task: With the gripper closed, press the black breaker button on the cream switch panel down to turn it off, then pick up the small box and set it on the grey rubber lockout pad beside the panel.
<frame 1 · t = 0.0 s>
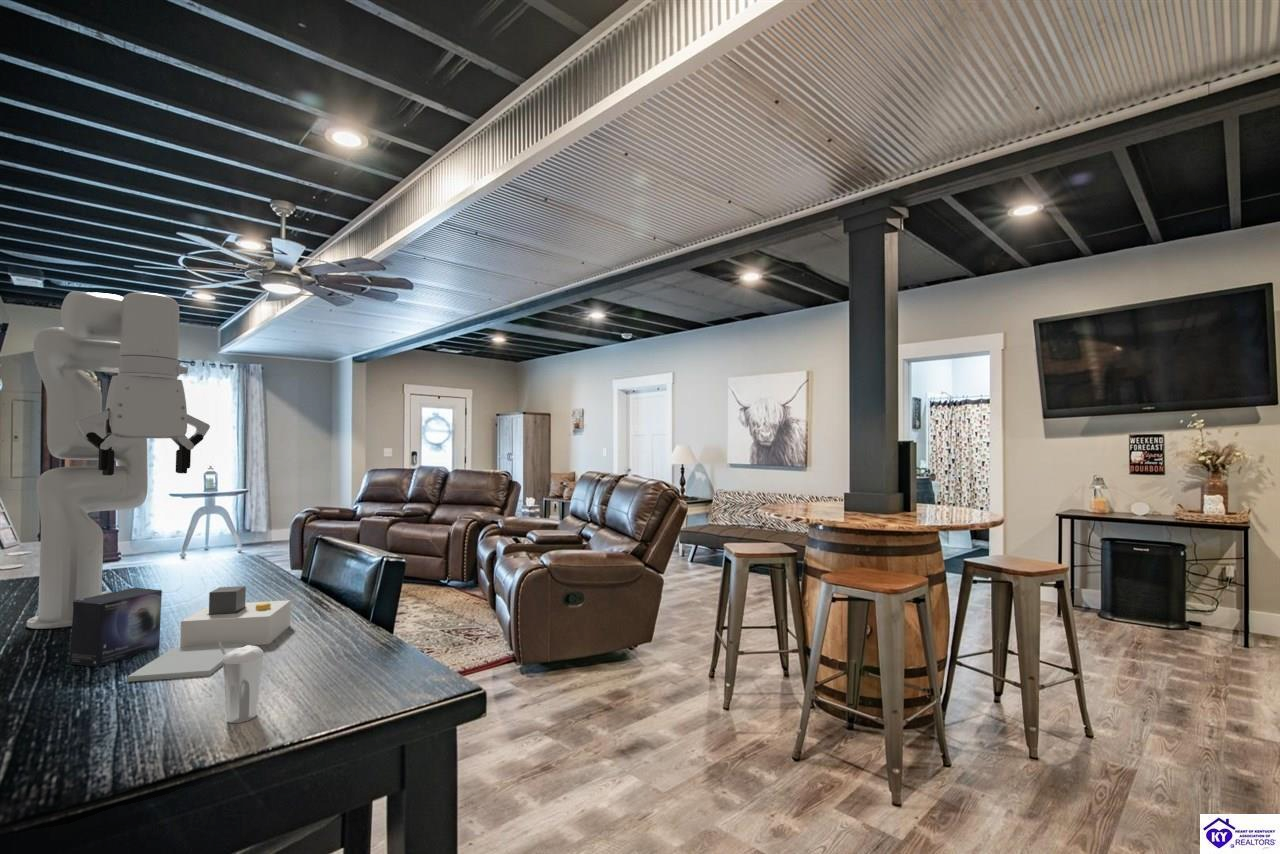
hand: (146, 474, 100), 31 cm above the table, tool pointing down, fingers open, 9 cm apart
switch panel: (238, 637, 115), on the table
breaker button: (227, 605, 115), point 6 cm above the table, slide at 0.0 cm
milkshake: (238, 719, 80), on the table
lockout pad: (190, 663, 101), on the table
small box: (116, 657, 105), on the table
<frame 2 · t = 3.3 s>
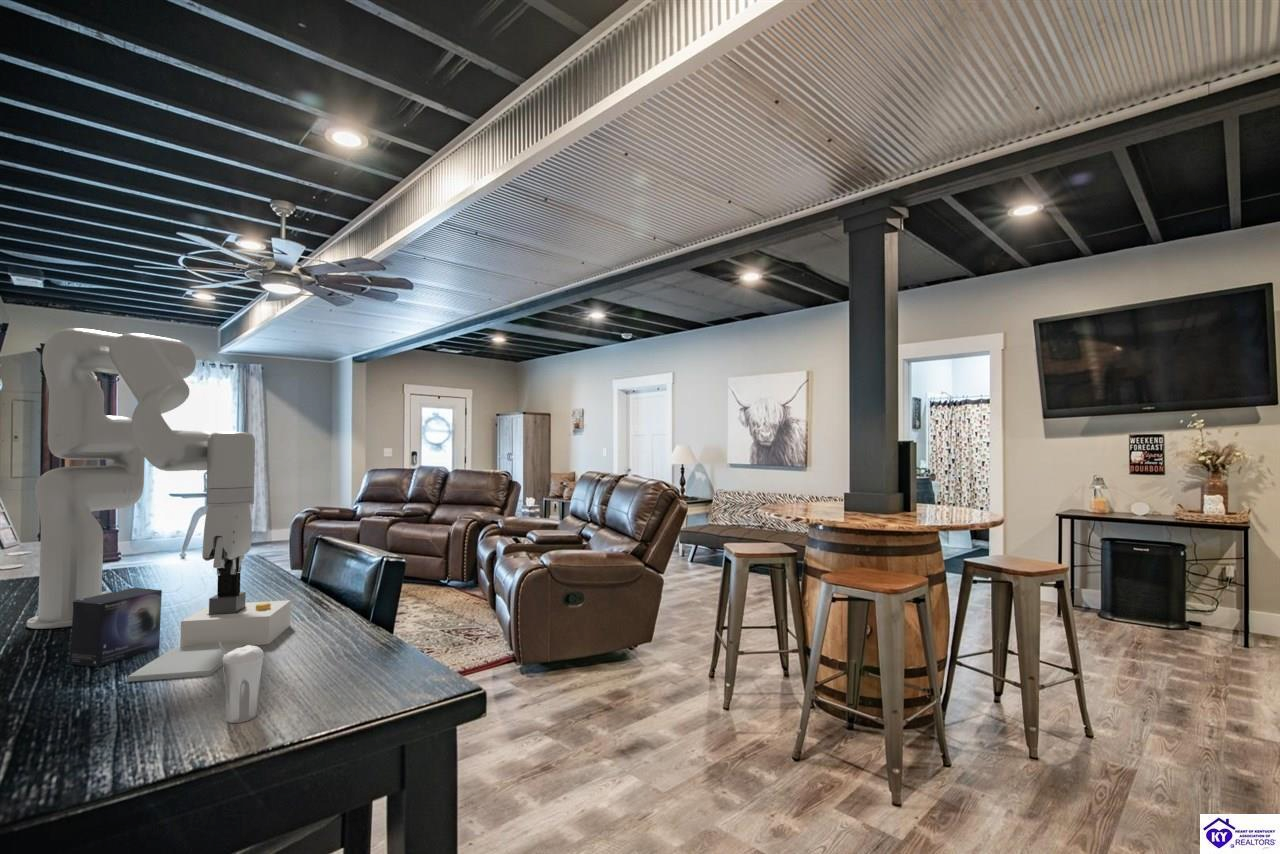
hand: (228, 595, 115), 8 cm above the table, tool pointing down, fingers closed
breaker button: (227, 611, 115), point 5 cm above the table, slide at 1.1 cm, touching gripper
everything else where it was.
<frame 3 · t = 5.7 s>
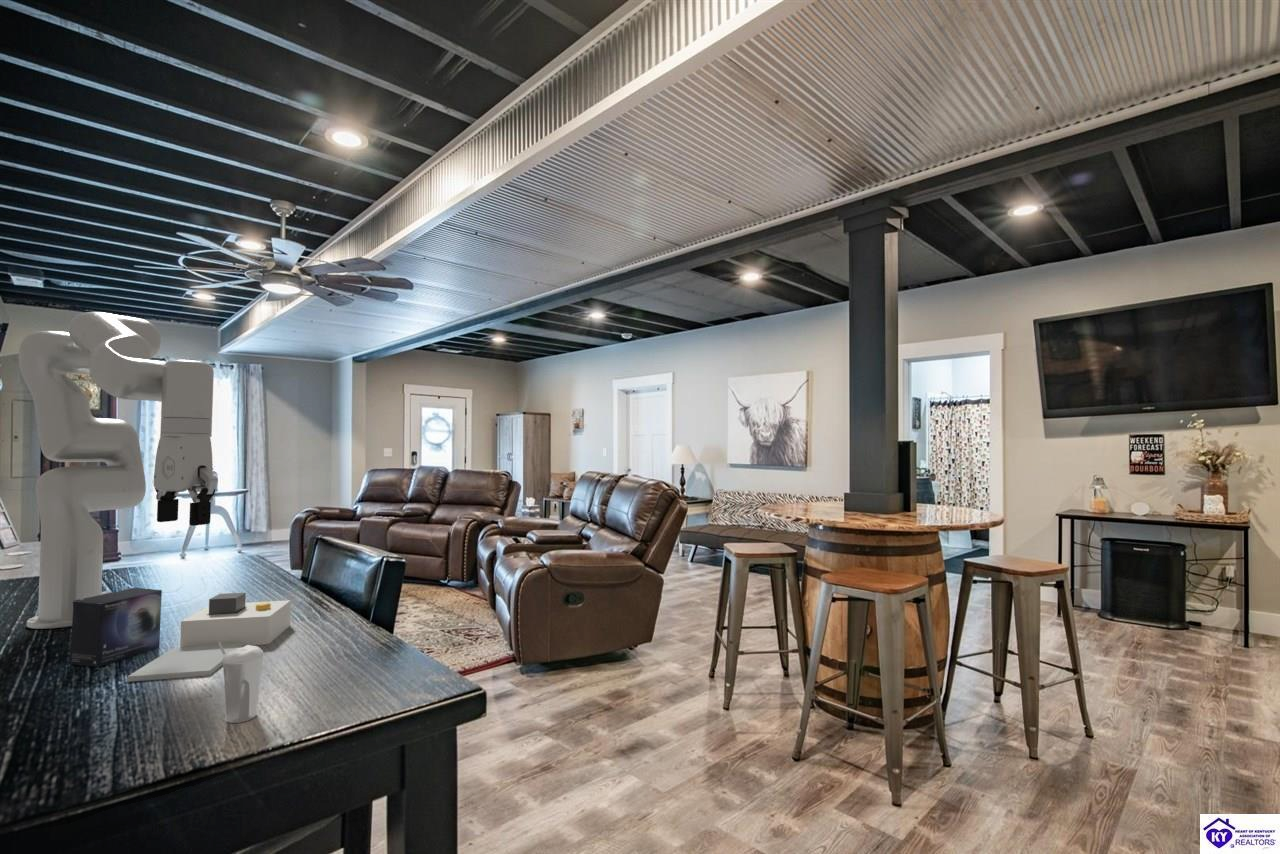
hand: (183, 523, 111), 22 cm above the table, tool pointing down, fingers open, 9 cm apart
breaker button: (227, 612, 115), point 5 cm above the table, slide at 1.2 cm
everything else where it was.
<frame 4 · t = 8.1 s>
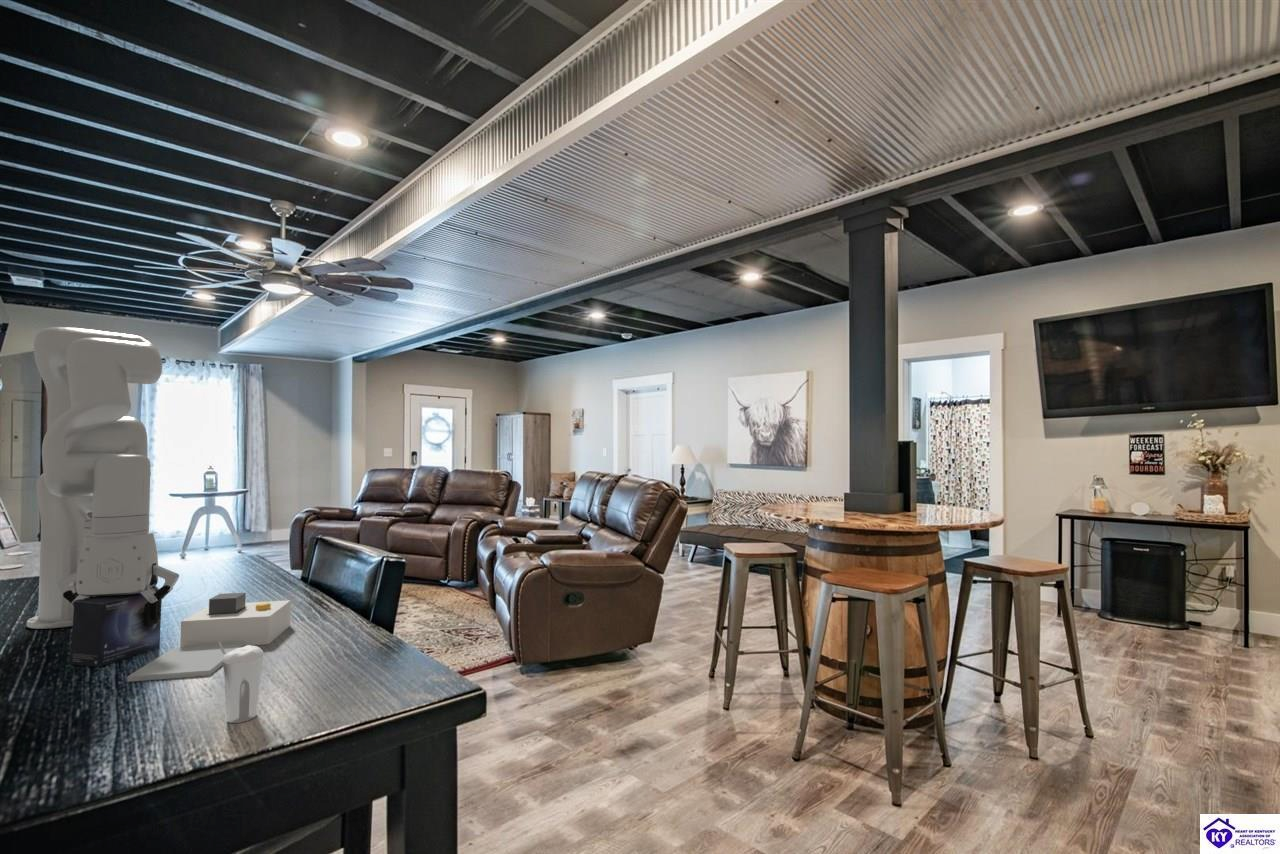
hand: (118, 627, 104), 5 cm above the table, tool pointing down, fingers open, 9 cm apart
nothing on the table moved.
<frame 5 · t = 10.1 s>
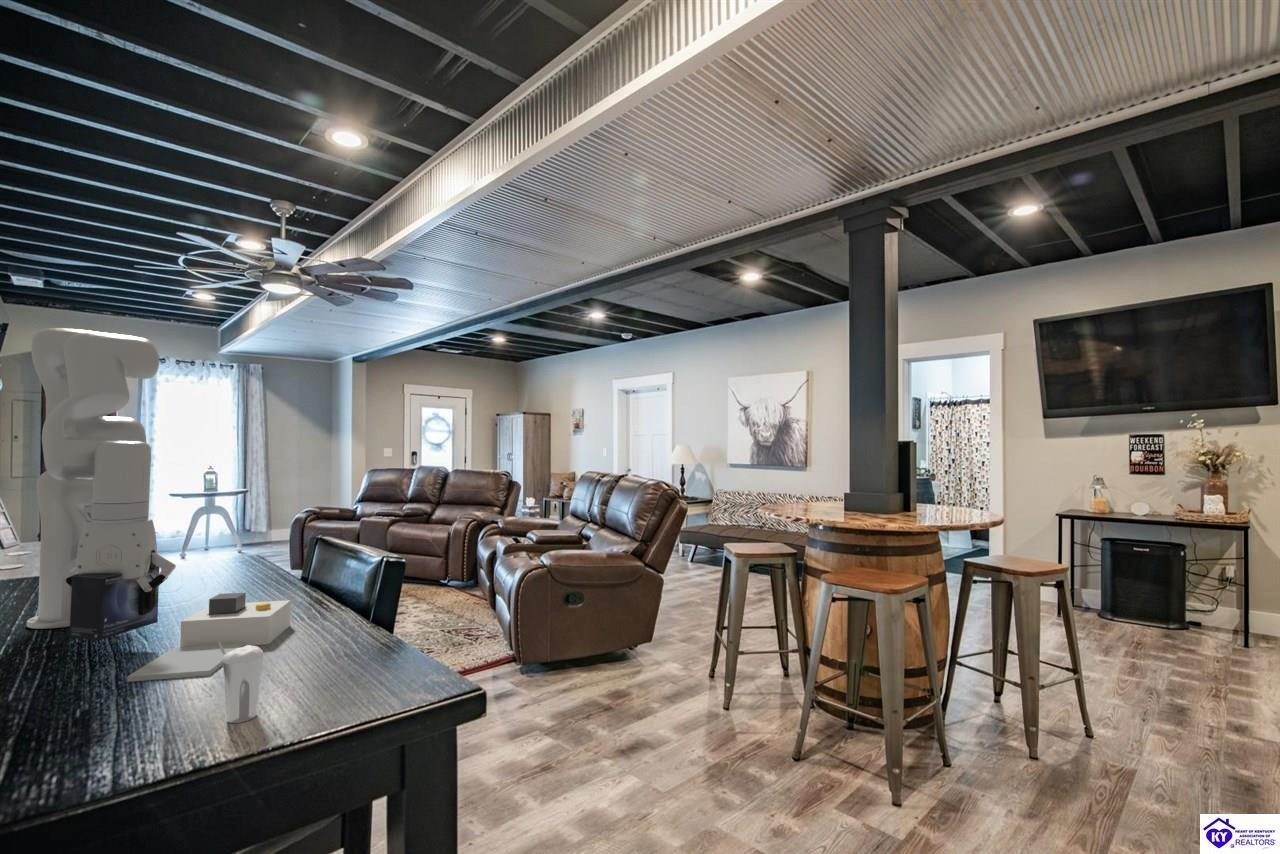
hand: (116, 613, 105), 7 cm above the table, tool pointing down, fingers closed on small box, 8 cm apart
small box: (115, 631, 105), point 4 cm above the table, touching gripper
everything else where it was.
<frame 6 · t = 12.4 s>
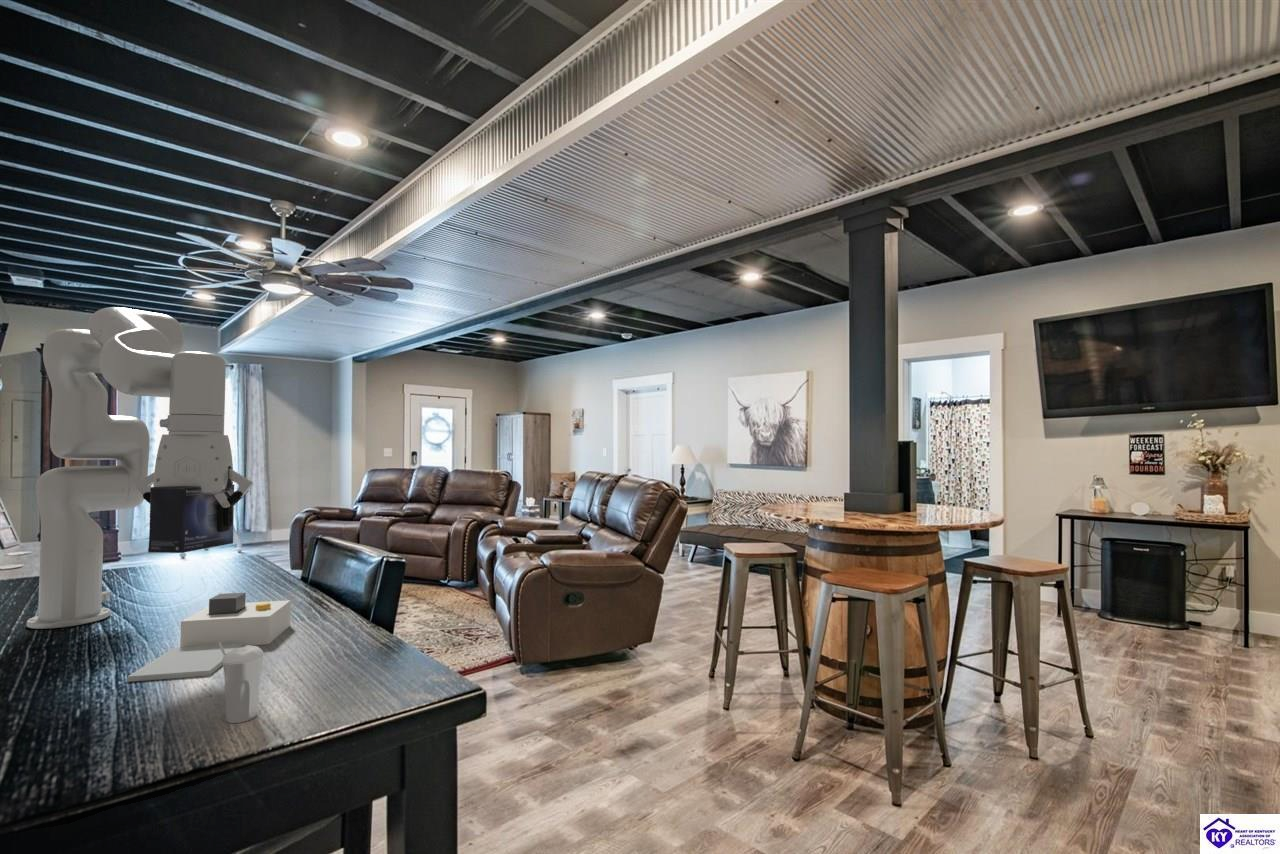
hand: (194, 531, 102), 22 cm above the table, tool pointing down, fingers closed on small box, 8 cm apart
small box: (193, 549, 102), point 19 cm above the table, touching gripper
everything else where it was.
when the fingers open (5 cm above the table, at t = 16.1 s): small box drops 1 cm, resting on lockout pad.
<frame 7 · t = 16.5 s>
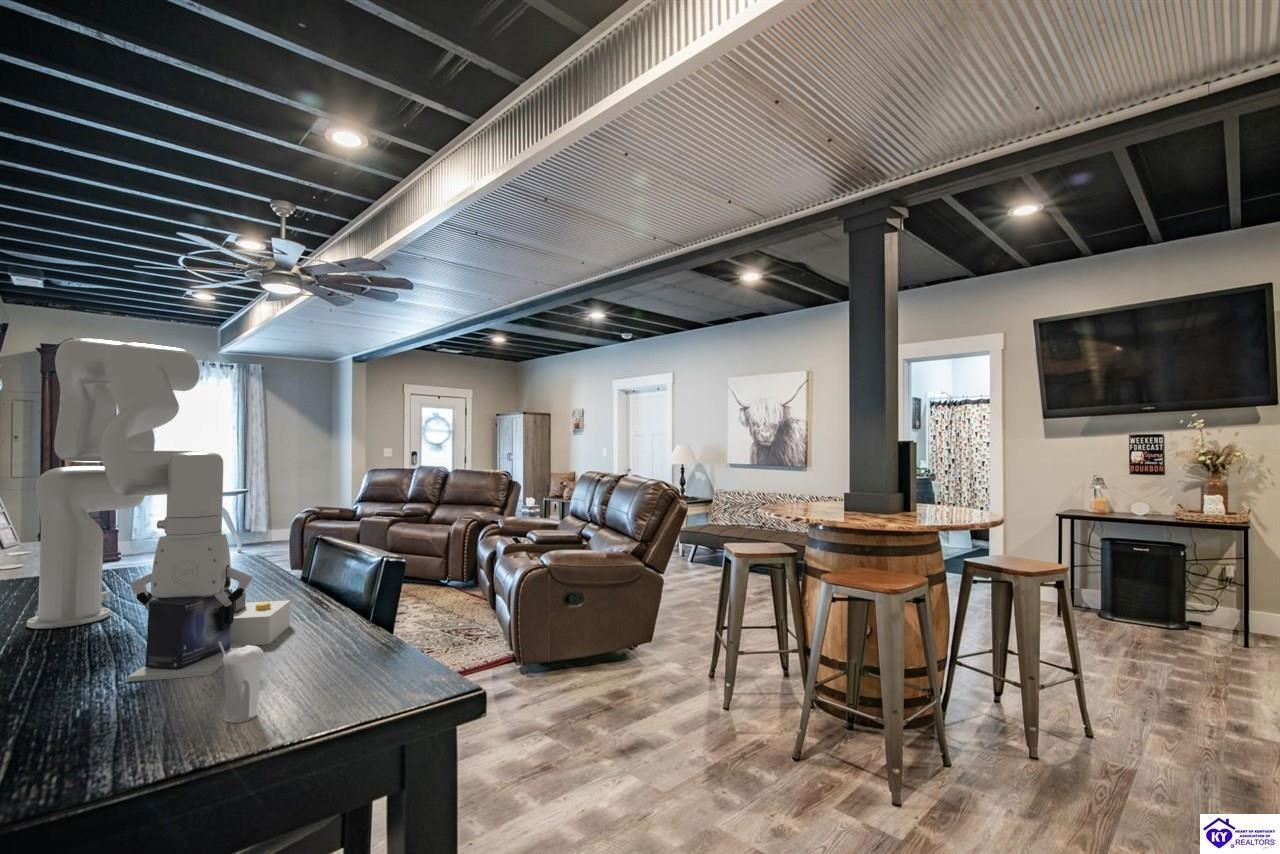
hand: (191, 630, 101), 5 cm above the table, tool pointing down, fingers open, 9 cm apart
small box: (190, 659, 101), point 1 cm above the table, touching lockout pad
everything else where it was.
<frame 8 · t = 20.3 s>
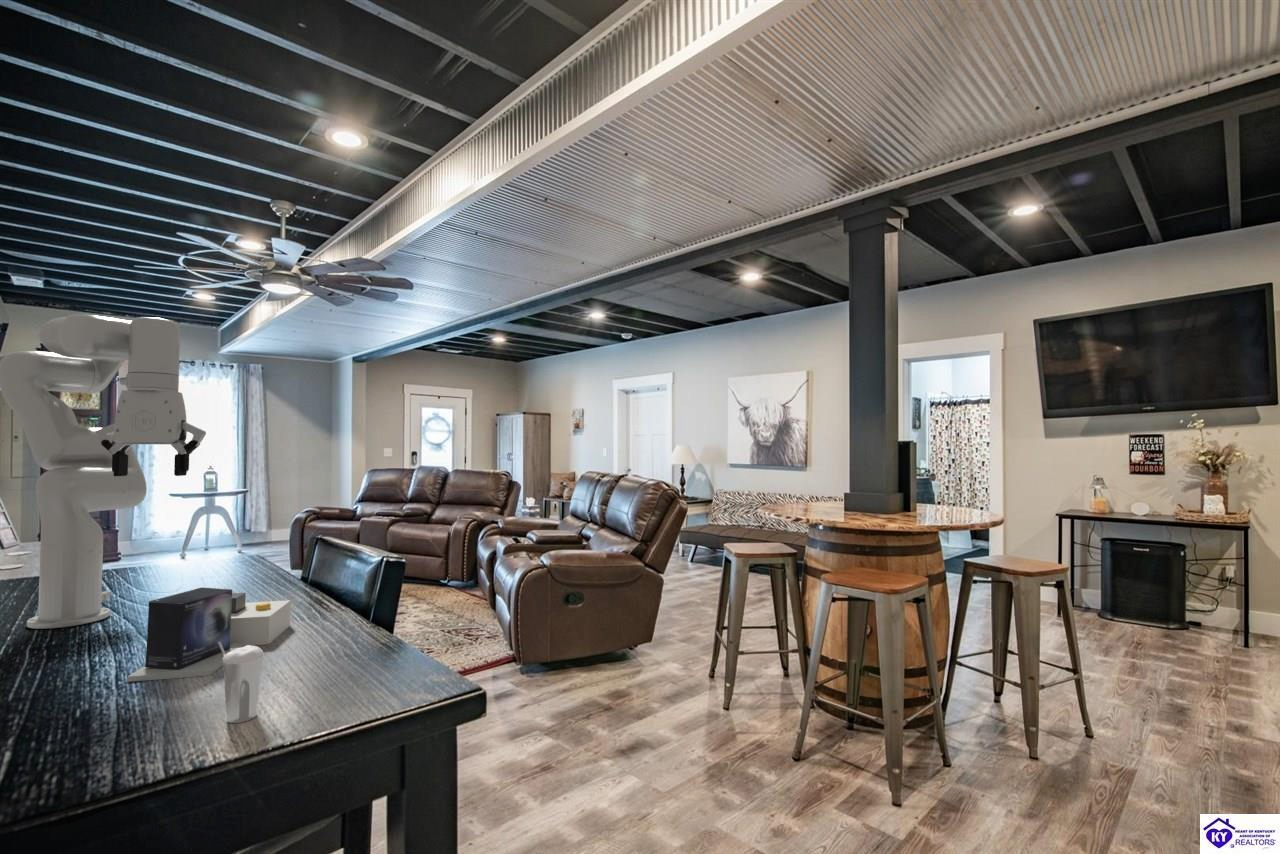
hand: (150, 475, 114), 30 cm above the table, tool pointing down, fingers open, 9 cm apart
nothing on the table moved.
at the end: breaker button slide at 1.2 cm; small box inside the target area on the lockout pad (0.1 cm from its centre), point 0.6 cm above the lockout pad's base; small box tilted 0° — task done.
